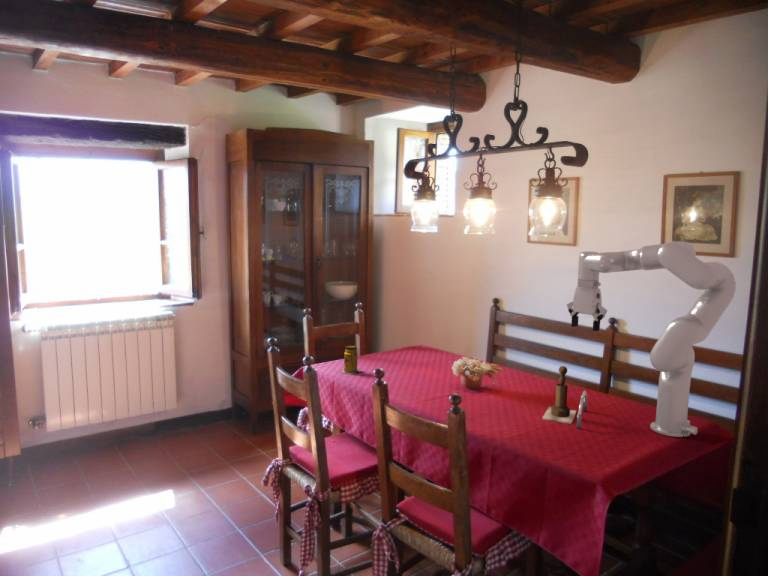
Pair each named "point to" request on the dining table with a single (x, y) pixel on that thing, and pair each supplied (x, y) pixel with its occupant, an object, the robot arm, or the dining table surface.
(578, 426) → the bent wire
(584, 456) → the dining table surface
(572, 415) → the birch board
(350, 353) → the condiment
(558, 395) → the mortar and pestle
